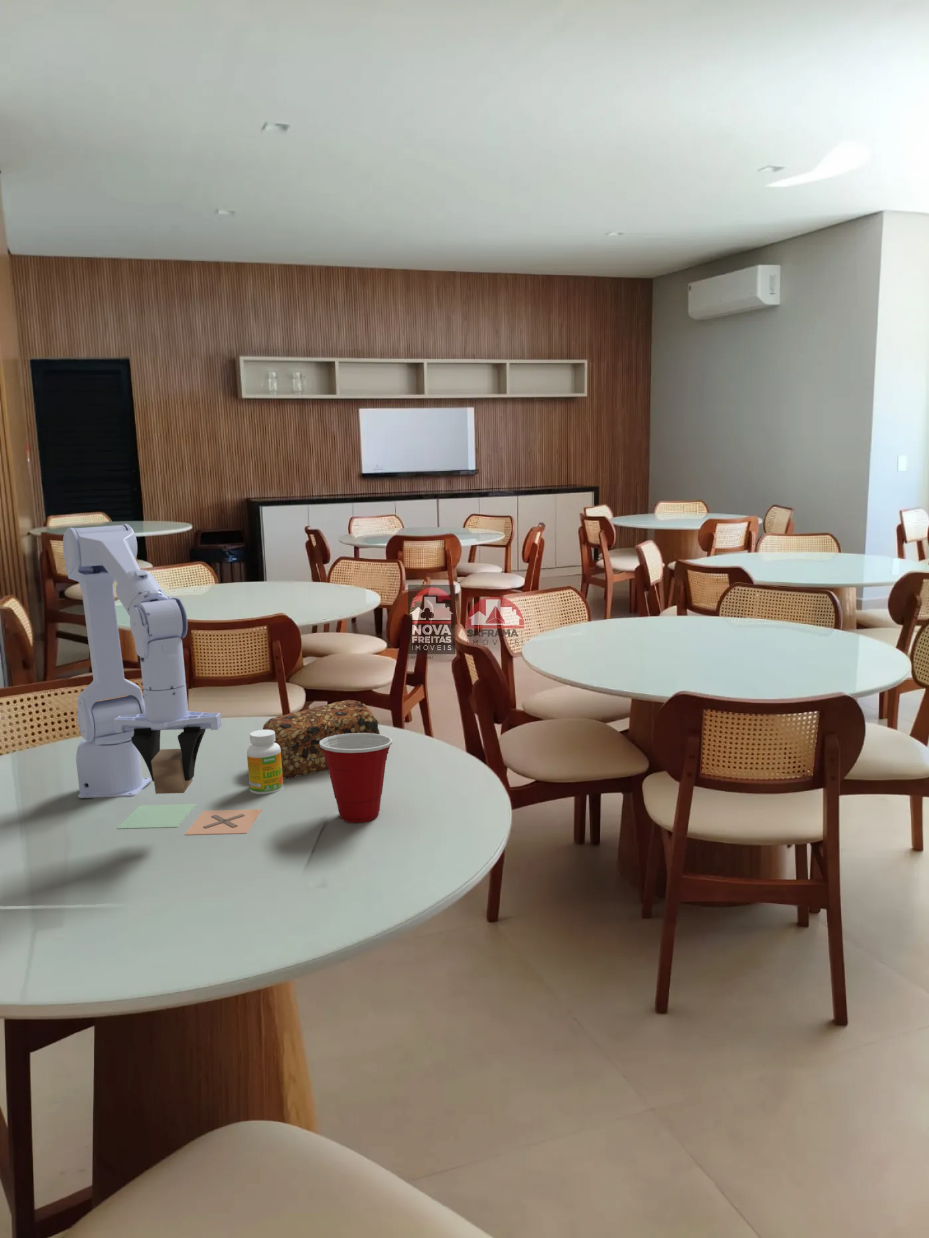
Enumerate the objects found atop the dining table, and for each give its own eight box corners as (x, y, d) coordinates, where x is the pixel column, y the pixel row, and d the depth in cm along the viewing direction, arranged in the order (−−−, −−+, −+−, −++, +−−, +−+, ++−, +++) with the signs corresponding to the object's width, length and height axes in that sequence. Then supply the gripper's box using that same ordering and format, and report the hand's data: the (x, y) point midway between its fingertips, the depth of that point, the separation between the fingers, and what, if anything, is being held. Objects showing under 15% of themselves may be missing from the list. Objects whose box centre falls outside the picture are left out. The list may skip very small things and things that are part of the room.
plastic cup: (409, 807, 140) (405, 731, 137) (373, 833, 130) (368, 752, 128) (348, 798, 144) (344, 725, 142) (309, 823, 134) (304, 745, 132)
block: (155, 793, 128) (151, 760, 127) (165, 781, 132) (160, 749, 131) (183, 793, 128) (179, 760, 127) (192, 780, 132) (188, 748, 131)
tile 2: (184, 837, 131) (184, 833, 131) (203, 813, 140) (203, 810, 140) (246, 835, 131) (246, 832, 131) (261, 811, 140) (261, 808, 140)
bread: (358, 745, 172) (355, 694, 170) (383, 760, 163) (380, 706, 161) (262, 765, 162) (258, 711, 161) (283, 782, 153) (278, 724, 152)
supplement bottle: (264, 798, 146) (260, 739, 144) (242, 792, 149) (238, 734, 147) (290, 788, 150) (286, 731, 148) (268, 782, 153) (264, 726, 151)
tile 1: (117, 830, 134) (117, 828, 134) (140, 807, 143) (139, 805, 143) (177, 829, 134) (177, 826, 134) (196, 806, 143) (196, 803, 143)
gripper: (101, 694, 124) (111, 790, 126) (207, 691, 123) (215, 787, 126) (121, 682, 131) (131, 772, 133) (222, 679, 130) (229, 770, 132)
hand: (173, 778), depth 130 cm, fingers closed on block, 4 cm apart
